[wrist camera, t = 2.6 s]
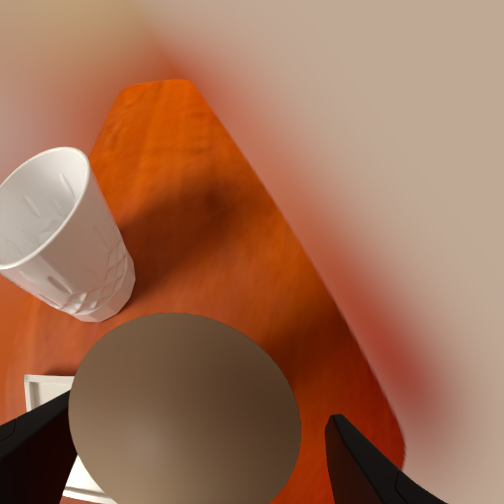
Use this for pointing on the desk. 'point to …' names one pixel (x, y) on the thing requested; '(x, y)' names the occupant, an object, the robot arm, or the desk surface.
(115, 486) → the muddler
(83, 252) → the white cup
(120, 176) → the desk surface
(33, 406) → the tray
